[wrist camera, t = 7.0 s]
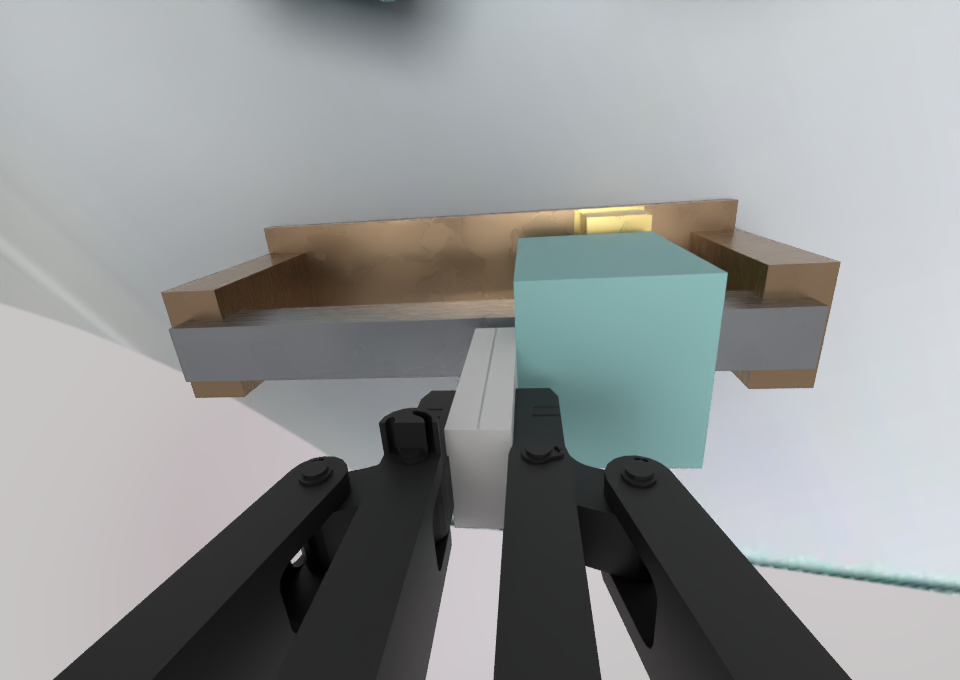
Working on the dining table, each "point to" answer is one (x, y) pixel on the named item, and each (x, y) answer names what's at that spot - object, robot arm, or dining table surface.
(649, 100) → the dining table surface
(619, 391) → the block
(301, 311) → the rail
